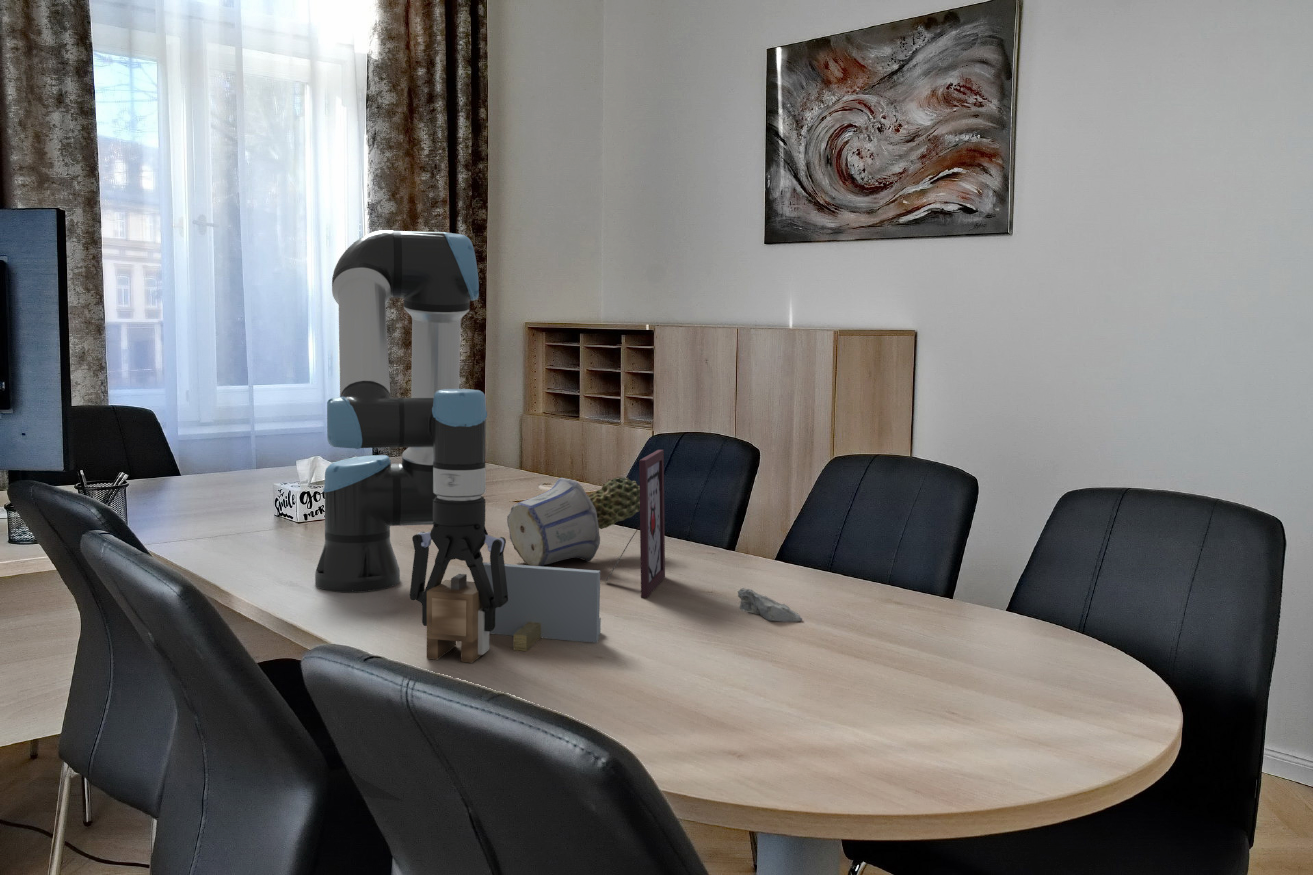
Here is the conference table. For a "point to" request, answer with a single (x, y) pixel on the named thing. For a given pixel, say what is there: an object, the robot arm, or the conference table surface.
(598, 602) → the wall board
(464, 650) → the cabinet block
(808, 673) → the conference table surface
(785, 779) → the conference table surface
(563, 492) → the potted plant
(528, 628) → the rail
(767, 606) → the stone
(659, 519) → the picture frame
